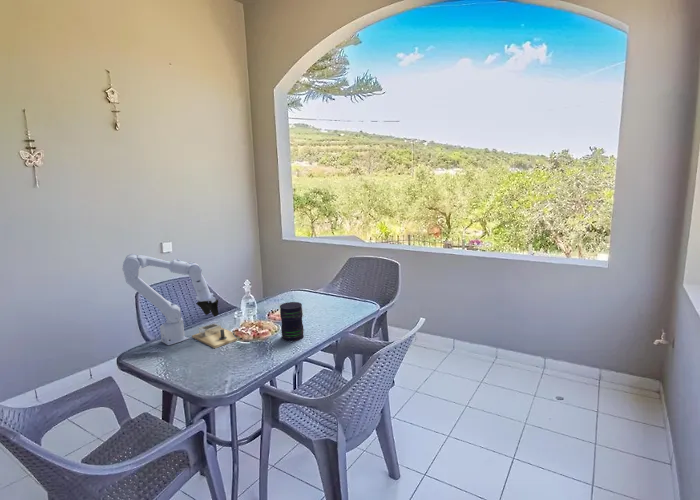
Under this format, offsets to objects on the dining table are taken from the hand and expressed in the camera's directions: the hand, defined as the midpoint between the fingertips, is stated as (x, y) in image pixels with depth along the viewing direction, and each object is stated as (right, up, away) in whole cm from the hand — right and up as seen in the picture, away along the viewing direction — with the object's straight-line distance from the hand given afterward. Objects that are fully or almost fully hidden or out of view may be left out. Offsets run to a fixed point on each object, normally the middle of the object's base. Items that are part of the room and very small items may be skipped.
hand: (212, 314), depth 202 cm
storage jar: (+38, -9, -7) cm, 40 cm away
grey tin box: (-1, -8, 0) cm, 8 cm away
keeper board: (+4, -10, -4) cm, 11 cm away
